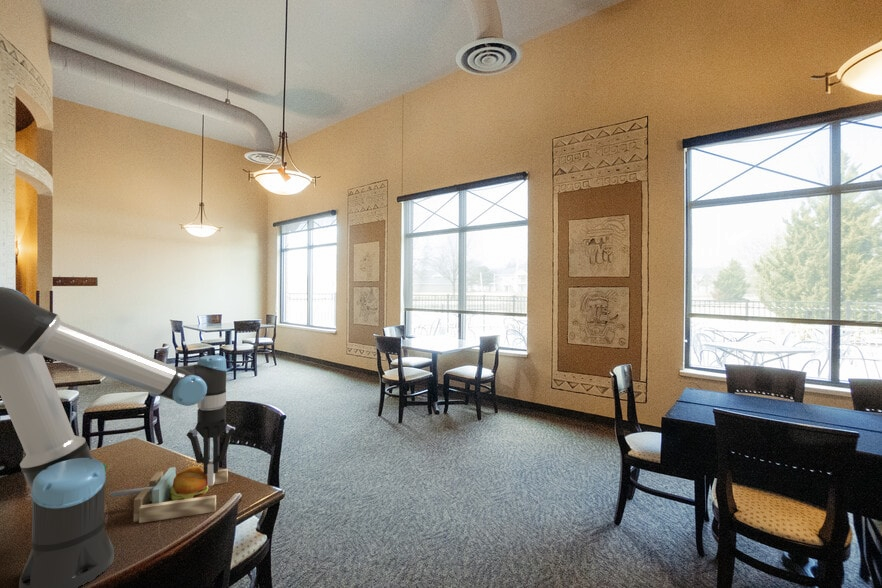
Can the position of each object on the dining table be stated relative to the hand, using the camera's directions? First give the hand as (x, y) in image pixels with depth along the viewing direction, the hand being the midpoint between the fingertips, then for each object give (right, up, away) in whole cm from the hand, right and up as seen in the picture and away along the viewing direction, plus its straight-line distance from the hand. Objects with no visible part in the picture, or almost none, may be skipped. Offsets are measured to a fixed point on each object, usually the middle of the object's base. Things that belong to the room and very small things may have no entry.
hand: (211, 483), depth 119 cm
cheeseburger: (-6, -4, -1) cm, 7 cm away
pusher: (-17, -3, -6) cm, 19 cm away
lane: (-7, -4, -2) cm, 8 cm away
